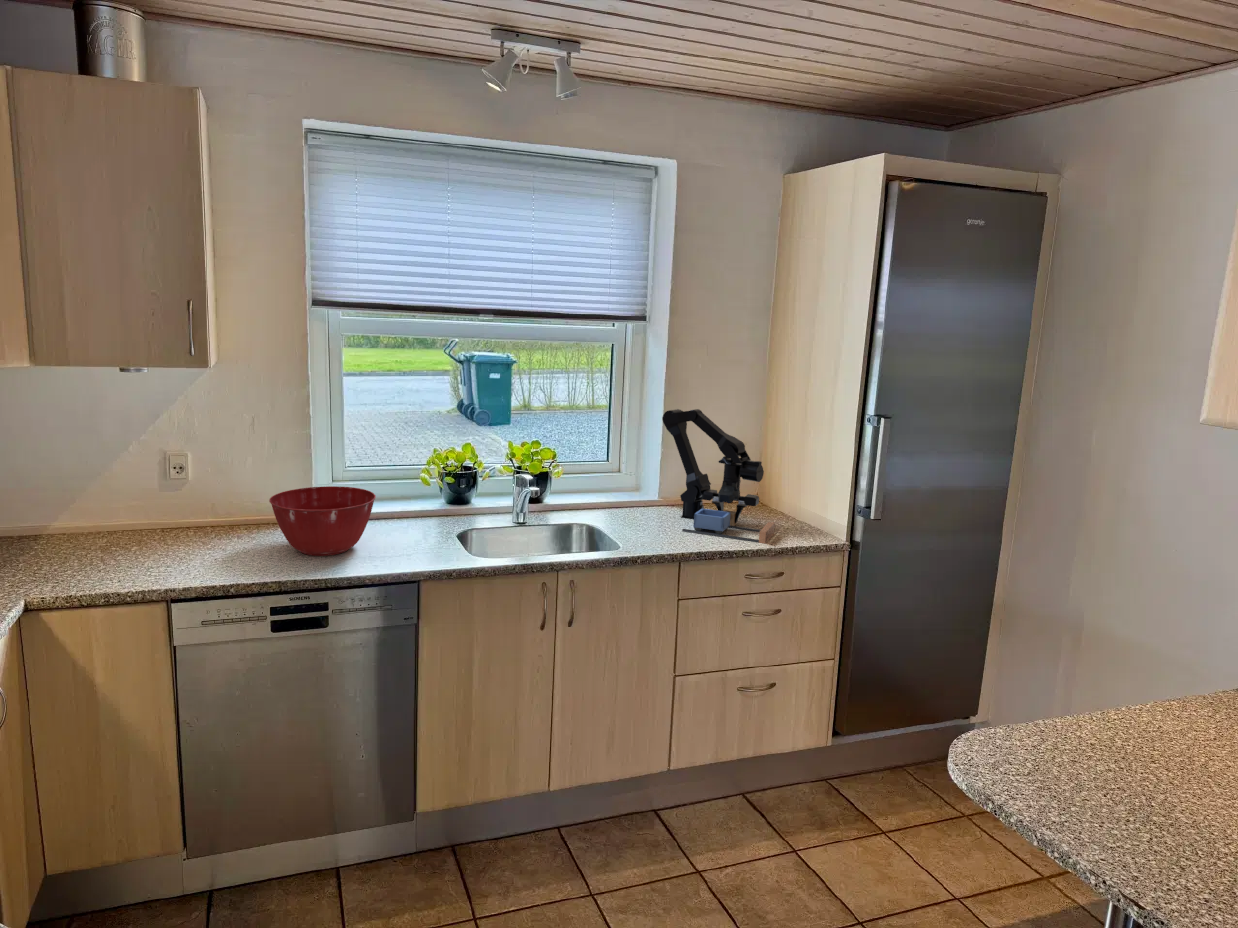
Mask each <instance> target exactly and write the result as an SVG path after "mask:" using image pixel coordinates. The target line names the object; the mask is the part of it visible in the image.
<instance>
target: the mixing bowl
mask: <svg viewBox="0 0 1238 928" xmlns="http://www.w3.org/2000/svg"><path fill="white" fill-rule="evenodd" d="M376 497H377V496H376V494H375V493H374V492H372V491H370V490H367V489H365V488H359V487H350V486H339V485H338V486H337V485H336V486H331V485H330V486H329V485H328V486H327V485H326V486H312V487H302V488H296V489H289V490H285V491H282V492H279V493H276V494H274V495H272V496H271V497H270V498H269V500H268V501H269V504H271V508H272V510H273V511H272V512H273V514H274V517H275V520H276V522H277V525H278V527H279V528H280V531H281V532H282V534H283V536H284V538H285V539H286V541H287V542H288V544H289V545H290V546H291V547H292V548H293V549H295V550H296V551H298V552H300V553H302V554H304V555H308V556H314V557H315V556H316V557H320V556H321V557H324V556H325V557H326V556H334V555H335V556H336V555H340V554H343V553H346V552H347V551H348V550H350V549H351V548H353V547H354V546H355V545H357V543H358V542H359V541H360V540H361V538H362V535H363V533H364V532H365V529H366V528H367V525H368V522H369V520H370V517H371V513H372V510H373V506H374V504H375V503H374V502H375V500H376Z"/></svg>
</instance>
